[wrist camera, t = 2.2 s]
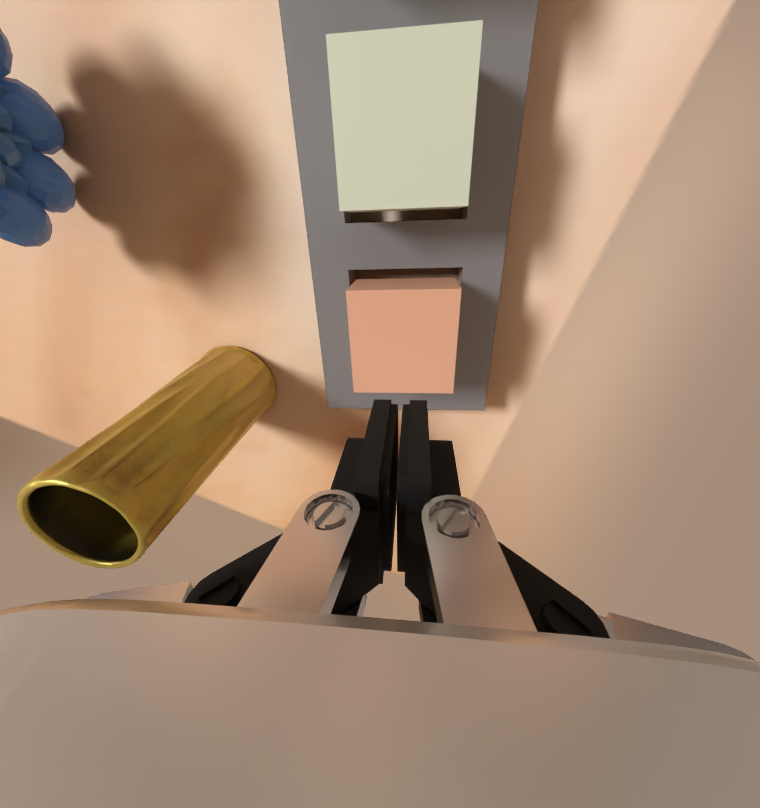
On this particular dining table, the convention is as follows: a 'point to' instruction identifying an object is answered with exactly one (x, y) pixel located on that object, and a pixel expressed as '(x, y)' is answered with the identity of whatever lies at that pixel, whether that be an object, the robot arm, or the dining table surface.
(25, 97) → the blue flower rosette
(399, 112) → the key sage
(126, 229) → the dining table surface
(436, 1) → the keypad board
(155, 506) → the vase
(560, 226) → the dining table surface
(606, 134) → the dining table surface
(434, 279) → the key terracotta
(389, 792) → the robot arm
